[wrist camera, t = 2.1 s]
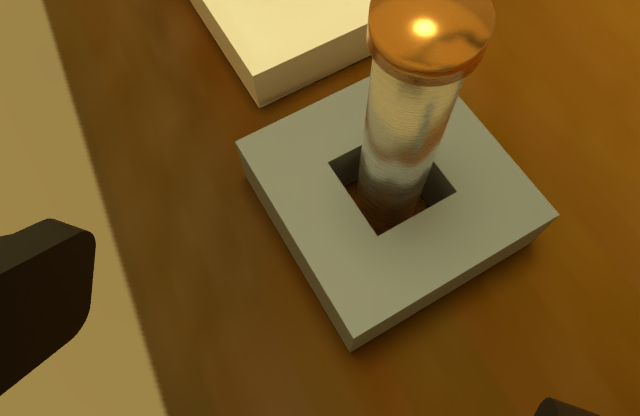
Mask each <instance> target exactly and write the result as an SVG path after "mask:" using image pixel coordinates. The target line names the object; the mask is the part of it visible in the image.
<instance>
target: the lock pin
mask: <svg viewBox="0 0 640 416" xmlns="http://www.w3.org/2000/svg"><path fill="white" fill-rule="evenodd" d="M495 20H496V16H495V10H494V6H493V4H492V1H491V0H371V1H370V6H369V15H368V25H367V37H366V40H367V46H368V50H369V52H370V54H371V56H372V66H371V75H370V83H369V91H368V99H367V108H366V116H365V124H364V132H363V141H362V149H361V157H360V165H359V174H358V182H357V190H356V198H355V204H356V205H357V207H358V208H359V210H360V211H361V213H362V214H363V216H364V217H365V219H366V220H367V222H368V223H369V225H370V226H371V228H372V229H373V230H374V232H375V233H376V235H381V234H383V233H385V232H386V231H388V230H390V229H392V228H393V227H395V226H397V225H399V224H401V223H402V222H404V221H406V220H408V219H409V218H411V217H412V216H413V213H414V211H415V208H416V205H417V203H418V200H419V197H420V195H421V192H422V190H423V187H424V184H425V182H426V179H427V176H428V174H429V171H430V169H431V166H432V163H433V161H434V158H435V155H436V153H437V150H438V147H439V145H440V142H441V140H442V137H443V134H444V132H445V129H446V126H447V124H448V121H449V119H450V116H451V113H452V111H453V108H454V105H455V103H456V100H457V98H458V95H459V92H460V90H461V87H462V84H463V82H464V79H465V77H467V76H468V75H469V74H470V73H472V72H473V71H474V70H475V69H476V68H477V66H478V65H479V63H480V62H481V60H482V57H483V55H484V53H485V50H486V48H487V45H488V43H489V40H490V38H491V35H492V33H493V30H494V27H495Z"/></svg>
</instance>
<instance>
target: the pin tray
mask: <svg viewBox="0 0 640 416" xmlns="http://www.w3.org/2000/svg"><path fill="white" fill-rule="evenodd" d="M370 1H371V0H190V2H191V3H192V5H193V6H194V8H195V10H196V11H197V13H198V14H199V16H200V17H201V19H202V20H203V22H204V24H205V25H206V27H207V28H208V30H209V31H210V33H211V34H212V36H213V37H214V39H215V41H216V42H217V44H218V45H219V47H220V48H221V50H222V51H223V53H224V55H225V56H226V58H227V59H228V61H229V62H230V64H231V65H232V67H233V69H234V70H235V72H236V73H237V75H238V76H239V78H240V79H241V81H242V82H243V84H244V86H245V87H246V89H247V90H248V92H249V93H250V95H251V96H252V98H253V100H254V101H255V103H256V104H257V106H258V107H259V108H261V107H263V106H266V105H268V104H270V103H272V102H274V101H276V100H278V99H280V98H282V97H284V96H287V95H289V94H291V93H293V92H295V91H297V90H299V89H301V88H303V87H305V86H308V85H310V84H312V83H314V82H316V81H318V80H320V79H322V78H324V77H326V76H329V75H331V74H333V73H335V72H337V71H339V70H341V69H343V68H345V67H347V66H350V65H352V64H354V63H356V62H358V61H360V60H362V59H364V58H366V57H368V56H370V55H371V54H370V52H369V50H368V46H367V40H366V37H367V25H368V15H369V6H370Z"/></svg>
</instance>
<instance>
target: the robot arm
mask: <svg viewBox="0 0 640 416" xmlns="http://www.w3.org/2000/svg"><path fill="white" fill-rule="evenodd" d="M95 248H96V242H95V238H94V236H93V234H92V233H91V232H89V231H86V230H83V229H80V228H78V227H75V226H72V225H69V224H66V223H63V222H61V221H58V220H55V219H46V220H43V221H41V222H38V223H36V224H34V225H32V226H29V227H27V228H25V229H23V230H20V231H18V232H16V233H14V234H10V235H5V236H1V237H0V396H1V395H2V394H3V393H4V392H6V391H7V390H8V389H9V388H11V387H12V386H13V385H14V384H16V383H17V382H18V381H19V380H21V379H22V378H23V377H24V376H26V375H27V374H28V373H30V372H31V371H32V370H33V369H35V368H36V367H37V366H39V365H40V364H41V363H42V362H43V361H45V360H46V359H47V358H49V357H50V356H51V355H52V354H54V353H55V352H56V351H57V350H58V349H60V348H61V347H63V346H64V345H65V344H66V343H68V342H69V341H70V340H71V339H72V338H73V337H74V336H75V335H76V334H77V333H78V332H79V330H80V329H81V327H82V326H83V324H84V322H85V321H86V318H87V316H88V313H89V310H90V304H91V293H92V280H93V271H94V260H95ZM534 416H599V415H598V414H595V413H592V412H589V411H586V410H584V409H581V408H578V407H575V406H572V405H570V404H567V403H564V402H561V401H558V400H556V399H553V398H546V399H544V400H543V401H542V403H541V404H540V405H539V407H538V409H537V411H536V413H535V415H534Z"/></svg>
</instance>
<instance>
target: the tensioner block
mask: <svg viewBox="0 0 640 416" xmlns="http://www.w3.org/2000/svg"><path fill="white" fill-rule="evenodd" d="M369 83H370V76H369V77H367V78H365V79H363V80H361V81H359V82H357V83H355V84H353V85H351V86H349V87H347V88H345V89H343V90H340V91H338V92H336V93H334V94H332V95H330V96H328V97H326V98H324V99H322V100H320V101H318V102H316V103H314V104H312V105H310V106H308V107H305V108H303V109H301V110H299V111H297V112H295V113H293V114H291V115H289V116H287V117H285V118H283V119H281V120H279V121H277V122H275V123H273V124H270V125H268V126H266V127H264V128H262V129H260V130H258V131H256V132H254V133H252V134H250V135H248V136H246V137H244V138H242V139H240V140H238V141H236V142H235V143H236V146H237V150H238V153H239V156H240V160H241V163H242V166H243V170H244V173H245V176H246V178H247V180H248V182H249V183H250V185H251V187H252V188H253V190H254V192H255V193H256V195H257V197H258V199H259V200H260V202H261V204H262V205H263V207H264V209H265V210H266V212H267V214H268V215H269V217H270V219H271V221H272V222H273V224H274V226H275V227H276V229H277V231H278V232H279V234H280V236H281V237H282V239H283V241H284V242H285V244H286V246H287V248H288V249H289V251H290V253H291V254H292V256H293V258H294V259H295V261H296V263H297V264H298V266H299V268H300V270H301V271H302V273H303V275H304V276H305V278H306V280H307V281H308V283H309V285H310V286H311V288H312V290H313V292H314V293H315V295H316V297H317V298H318V300H319V302H320V303H321V305H322V307H323V308H324V310H325V312H326V313H327V315H328V317H329V319H330V320H331V322H332V324H333V325H334V327H335V329H336V330H337V332H338V334H339V335H340V337H341V339H342V341H343V342H344V344H345V346H346V347H347V349H348V351H349V352H350V353H351V352H352V351H354V350H356V349H357V348H359V347H360V346H362V345H364V344H365V343H367V342H369V341H370V340H372V339H374V338H375V337H377V336H379V335H380V334H382V333H384V332H385V331H387V330H388V329H390V328H392V327H393V326H395V325H397V324H398V323H400V322H402V321H403V320H405V319H407V318H408V317H410V316H412V315H413V314H415V313H416V312H418V311H420V310H421V309H423V308H425V307H426V306H428V305H430V304H431V303H433V302H435V301H436V300H438V299H440V298H441V297H443V296H444V295H446V294H448V293H449V292H451V291H453V290H454V289H456V288H458V287H459V286H461V285H463V284H464V283H466V282H468V281H469V280H471V279H472V278H474V277H476V276H477V275H479V274H481V273H482V272H484V271H486V270H487V269H489V268H491V267H492V266H494V265H496V264H497V263H499V262H500V261H502V260H504V259H505V258H507V257H509V256H510V255H512V254H514V253H515V252H517V251H519V250H520V249H522V248H524V247H525V246H527V245H528V244H530V243H531V242H532V241H533V240H534V239H535V238H536V237H537V236H538V235H539V234H540V233H542V232H543V231H544V230H545V229H546V228H547V227H548V226H549V225H550V224H551V223H552V222H553V221H554V220H555V219H556V218H557V217H558V216H559V213H558V212H557V211H556V210H555V209H554V208H553V206H552V205H551V204H550V203H549V202H548V201H547V199H546V198H545V197H544V196H543V195H542V193H541V192H540V191H539V190H538V189H537V188H536V186H535V185H534V184H533V183H532V182H531V181H530V179H529V178H528V177H527V176H526V175H525V173H524V172H523V171H522V170H521V169H520V168H519V166H518V165H517V164H516V163H515V162H514V161H513V159H512V158H511V157H510V156H509V155H508V154H507V152H506V151H505V150H504V149H503V148H502V146H501V145H500V144H499V143H498V142H497V141H496V139H495V138H494V137H493V136H492V135H491V134H490V132H489V131H488V130H487V129H486V128H485V126H484V125H483V124H482V123H481V122H480V121H479V119H478V118H477V117H476V116H475V115H474V114H473V112H472V111H471V110H470V109H469V108H468V106H467V105H466V104H465V103H464V102H463V101H462V99H461V98H460V97H459V96H458V98H457V100H456V103H455V105H454V108H453V111H452V113H451V116H450V119H449V121H448V124H447V126H446V129H445V132H444V134H443V137H442V140H441V142H440V145H439V147H438V150H437V153H436V155H435V158H434V161H433V163H432V166H431V169H430V171H429V174H428V176H427V179H426V182H425V184H424V187H423V190H422V192H421V196H422V197H423V198H424V200H425V201H426V203H427V204H428V205H429V208H427V209H425V210H424V211H422V212H420V213H418V214H417V215H415V216H413V217H411V218H409V219H408V220H406V221H404V222H402V223H401V224H399V225H397V226H395V227H393V228H392V229H390V230H388V231H386V232H385V233H383V234H381V235H379V236H377V235H376V233H375V232H374V230H373V229H372V228H371V226H370V225H369V223H368V222H367V220H366V219H365V217H364V216H363V214H362V213H361V211H360V210H359V208H358V207H357V205H356V204H355V202H354V201H353V199H352V198H351V196H350V195H349V193H348V192H347V191H346V189H345V188H344V187H345V186H347V185H349V184H351V183H353V182H354V181H356V180H358V174H359V165H360V157H361V149H362V141H363V132H364V124H365V116H366V108H367V99H368V91H369Z"/></svg>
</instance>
